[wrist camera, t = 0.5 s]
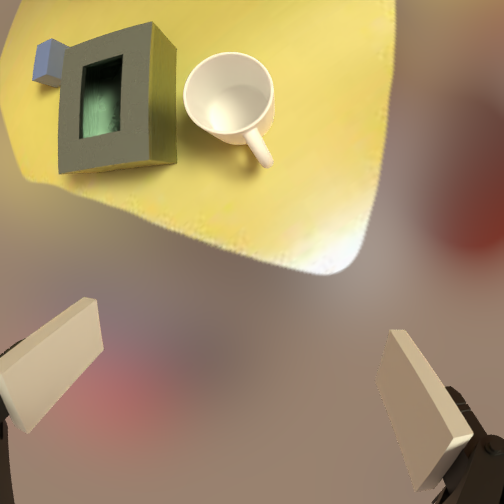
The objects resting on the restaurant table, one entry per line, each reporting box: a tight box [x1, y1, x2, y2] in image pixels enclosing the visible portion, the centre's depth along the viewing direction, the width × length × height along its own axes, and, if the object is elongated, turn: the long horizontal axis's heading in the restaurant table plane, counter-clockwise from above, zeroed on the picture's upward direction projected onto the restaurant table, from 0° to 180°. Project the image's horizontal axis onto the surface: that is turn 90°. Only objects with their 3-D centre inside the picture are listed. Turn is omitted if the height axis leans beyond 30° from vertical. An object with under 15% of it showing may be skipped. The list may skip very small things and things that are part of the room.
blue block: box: [32, 39, 70, 87], centre depth 32 cm, size 6×3×6 cm, turn 2°
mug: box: [183, 52, 275, 168], centre depth 30 cm, size 12×8×10 cm
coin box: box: [58, 22, 177, 174], centre depth 32 cm, size 16×12×9 cm
